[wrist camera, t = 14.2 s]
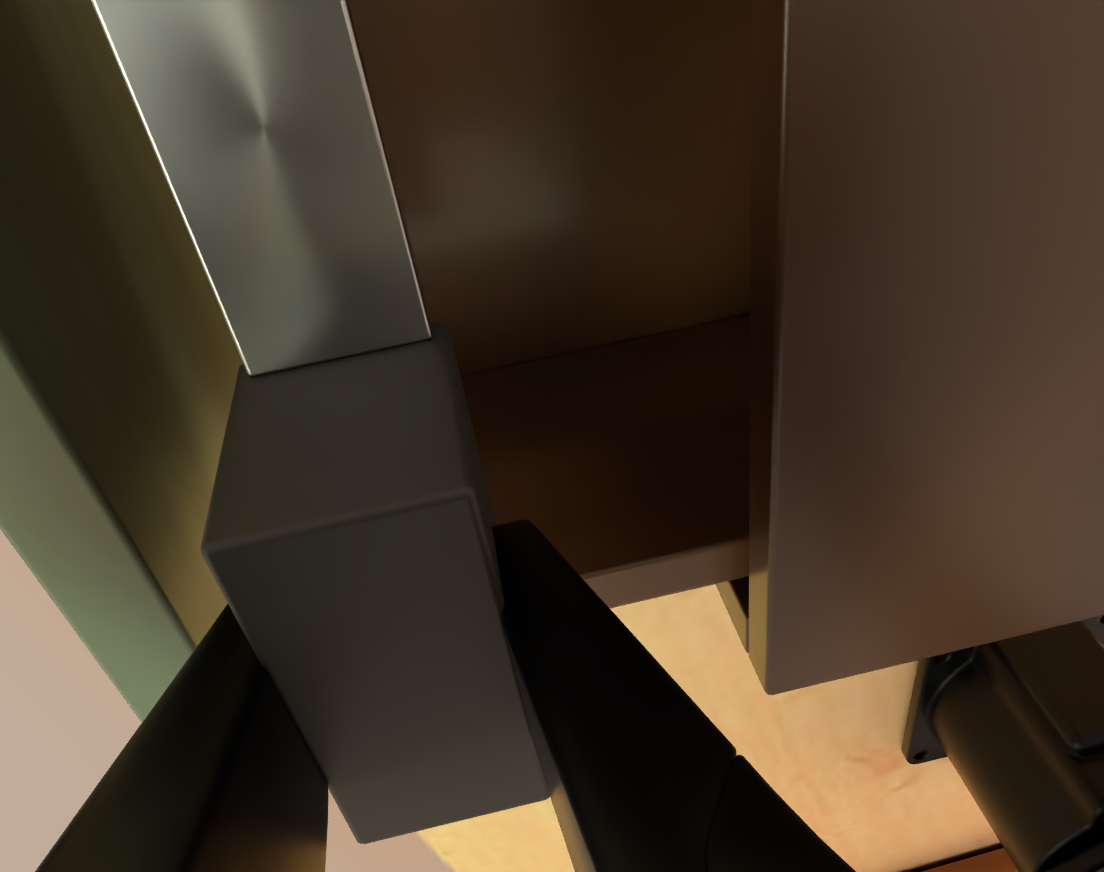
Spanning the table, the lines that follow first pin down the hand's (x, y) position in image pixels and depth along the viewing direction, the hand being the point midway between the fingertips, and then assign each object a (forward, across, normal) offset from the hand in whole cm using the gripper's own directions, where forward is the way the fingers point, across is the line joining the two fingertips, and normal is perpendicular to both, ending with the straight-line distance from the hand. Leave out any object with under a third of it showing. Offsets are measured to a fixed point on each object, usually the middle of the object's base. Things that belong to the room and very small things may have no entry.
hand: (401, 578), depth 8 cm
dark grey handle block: (+1, 0, -2) cm, 2 cm away
